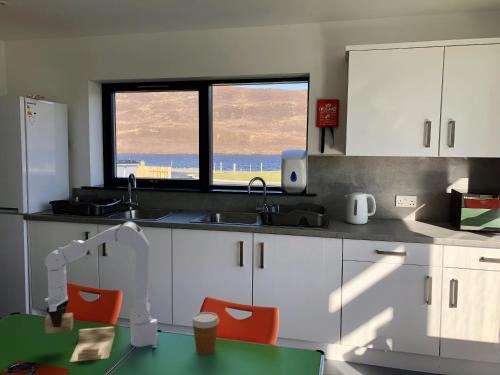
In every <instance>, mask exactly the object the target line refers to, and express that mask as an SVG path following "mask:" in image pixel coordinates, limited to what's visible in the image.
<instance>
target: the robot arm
mask: <svg viewBox="0 0 500 375" xmlns="http://www.w3.org/2000/svg"><path fill="white" fill-rule="evenodd" d="M106 242H113V243H116V242H119V243H121V244H122V245H124V246H127V247H129V248H131V249H132V250H133V251H134V252H135V262H134V263H135V267H134V292H133V294H134V297H133V303H132V308H131V311H130V313H129V318H130V345H131V346H133V347H138V348H141V347H145V346H152V349H154V348H155V349H156V348H158V340H159V333H158V319H157V318H152V316H151V314H150V310H151V308H152V304H151V302H150V300H149V296H150V295H149V278H150V277H149V276H150V274H149V273H150V249H151V245H150V242H149V240H148V239H147V237H146V236H145V234H144V232H143V230H142V228H141V226H139V225H138V224H137V223H135V222H134V221H126V222H124V223H123V224H117V225H115V226H113V227H110V228H108V229H106V230H103V231H101V232H100V233H98V234H95V235H94V236H92V237H90V238H88V239H86V240H80V239H77V240H76V239H74V240H71V241H70V243H69V244H67V245H65V246H63V247H62V246H59V247H57V249H55V250H53V251H52V252H50V253H49V254H48V255H47V256H46V257H45V259H44V264H45V266H46V268H47V286H48V287H47V289H48V290H47V291H48V297H46V298H45V299H44V302H46V303H47V302H48V305H49V306H47V307H46V310H45V311H46V313H47V315H49V316H50V318H51V320H52V324H53V326H54V327H60V326H61V322H62V315H63V313H67V308H68V305H69V303H70V299H69V296H68V286H67V283H68V282H67V268H66V267H67V266H66V265H67V264H69V263H71V262H73V261H76V260H78V259H80V258H83V257H85V256H86V255H87V254H88V251H89V250H90V249H93V248H95V247H97V246H99V245H101V244H103V243H106Z"/></svg>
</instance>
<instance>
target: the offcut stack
mask: <svg viewBox="0 0 500 375" xmlns="http://www.w3.org/2000/svg"><path fill="white" fill-rule="evenodd" d="M98 358H101V352H100V353H99V346H97V347H87V348H83V349H82V351H79V353H78V360H84V361H89V360H88V359H94V360H99V359H98Z"/></svg>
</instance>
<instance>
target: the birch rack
mask: <svg viewBox="0 0 500 375" xmlns="http://www.w3.org/2000/svg"><path fill="white" fill-rule="evenodd" d="M78 335H79V336H78V337H79V338H78V339H79V340H78V342H77V344H76V346H75V348H74V350H73V353H72V355H71V357H70V359H69V363H72V362H73V363H74V362H82V361H85V360H78V353H79V351H82V349H83V348H87V347H97V346H99V353H100V352H101V358H98V359H97V360H100V359H109V357H110V354H111V350H112V346H113V343H114V339H115V326H105V327H103V326H102V327H93V328H81V329H79V330H78ZM91 360H93V361H95V359H88V360H87V361H91Z"/></svg>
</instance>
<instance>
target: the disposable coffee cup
mask: <svg viewBox="0 0 500 375" xmlns="http://www.w3.org/2000/svg"><path fill="white" fill-rule="evenodd" d="M219 322H220V318H219V317H218V315H217V313H215V312H211V311H210V312H209V311H202V312H198V313H196V314H194V315H193V316H192V319H191V324H192V329H193V336H194V342H195V351H196V353H197V354H199V355H211V354H212V353H214V352H215V350H216V342H217V341H216V339H217V332H218V324H219Z"/></svg>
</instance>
